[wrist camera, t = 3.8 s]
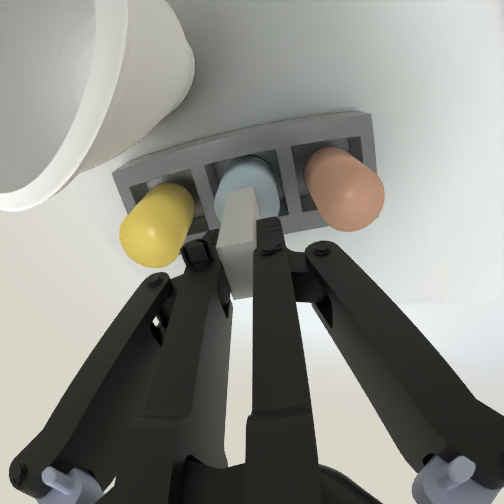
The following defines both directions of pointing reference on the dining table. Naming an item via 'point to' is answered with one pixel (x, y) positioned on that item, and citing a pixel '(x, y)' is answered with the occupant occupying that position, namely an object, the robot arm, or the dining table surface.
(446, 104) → the dining table surface
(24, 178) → the jar
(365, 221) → the orange brown egg
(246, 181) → the light blue rounded piece
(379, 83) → the dining table surface
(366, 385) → the robot arm
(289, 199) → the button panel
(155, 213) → the mustard button
